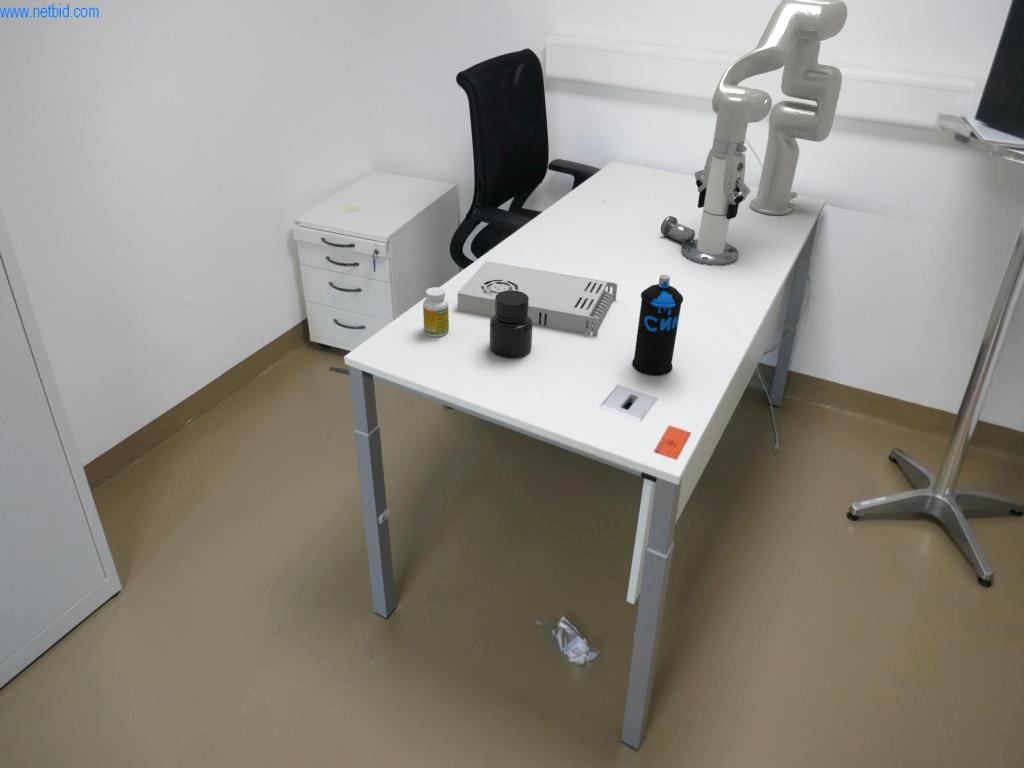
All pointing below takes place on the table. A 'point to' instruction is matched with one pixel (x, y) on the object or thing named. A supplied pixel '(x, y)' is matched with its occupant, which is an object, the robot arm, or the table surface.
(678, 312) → the aerosol can
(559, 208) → the table surface
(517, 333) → the ink bottle
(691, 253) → the flange fitting
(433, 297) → the supplement bottle
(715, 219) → the cylindrical container
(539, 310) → the power supply unit
